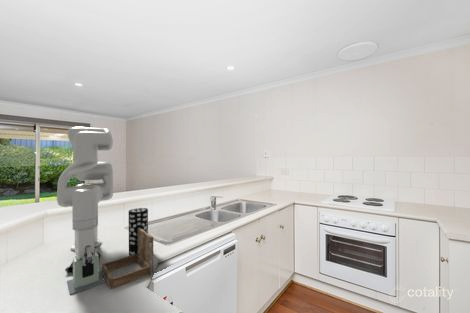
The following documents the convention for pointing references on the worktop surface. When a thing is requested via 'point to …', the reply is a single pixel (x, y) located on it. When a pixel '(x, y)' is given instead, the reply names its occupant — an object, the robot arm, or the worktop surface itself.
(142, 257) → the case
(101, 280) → the mat
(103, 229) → the worktop surface
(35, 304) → the worktop surface
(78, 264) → the module
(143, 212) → the white-spotted black cylinder
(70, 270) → the dark blue pouch
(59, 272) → the worktop surface
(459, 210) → the worktop surface
